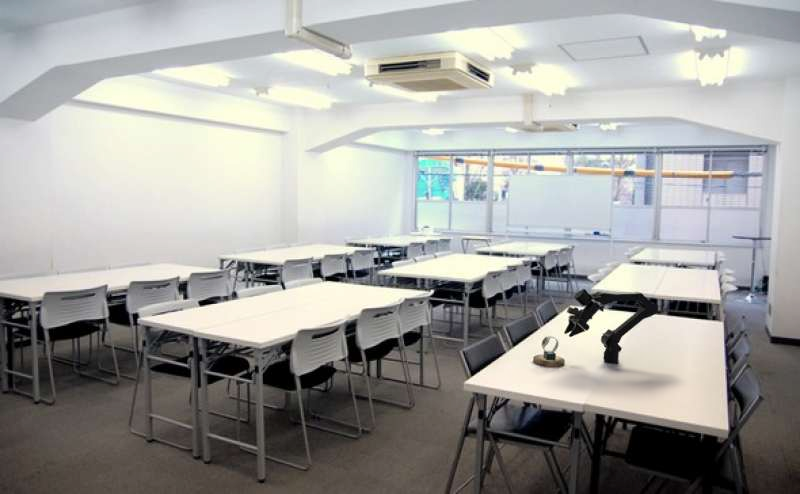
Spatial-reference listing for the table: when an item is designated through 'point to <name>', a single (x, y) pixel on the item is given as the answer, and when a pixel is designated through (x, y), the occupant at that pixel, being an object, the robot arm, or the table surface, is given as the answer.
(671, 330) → the table surface
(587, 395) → the table surface
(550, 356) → the watch
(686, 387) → the table surface
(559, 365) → the round dish
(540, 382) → the table surface
